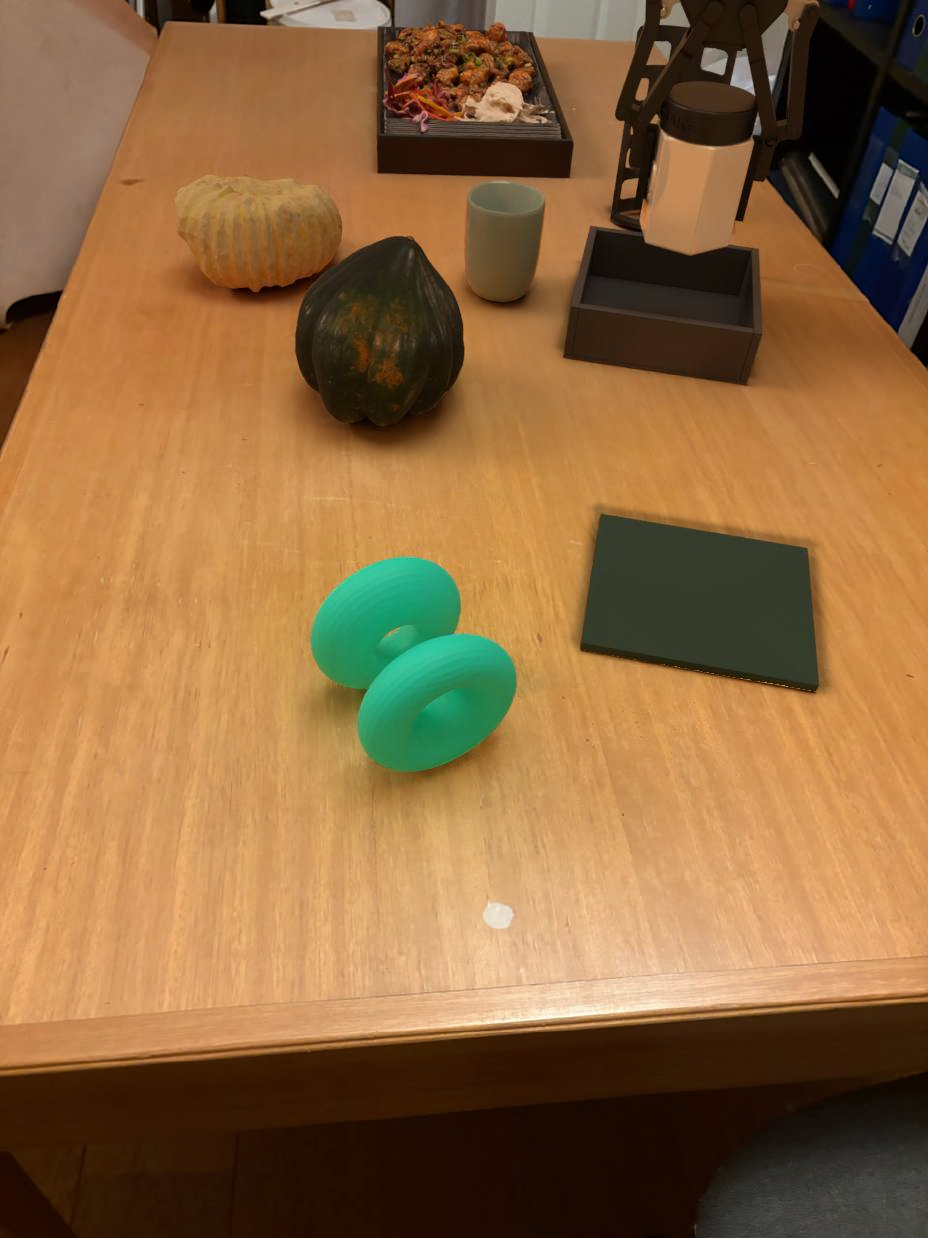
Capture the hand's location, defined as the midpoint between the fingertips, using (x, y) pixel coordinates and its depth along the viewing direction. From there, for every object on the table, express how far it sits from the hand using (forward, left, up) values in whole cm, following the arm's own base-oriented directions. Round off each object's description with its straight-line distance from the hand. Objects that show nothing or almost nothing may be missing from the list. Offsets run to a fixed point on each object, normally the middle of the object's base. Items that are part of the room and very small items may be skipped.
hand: (688, 208), depth 86 cm
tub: (0, 0, -12) cm, 12 cm away
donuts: (+13, +54, -12) cm, 57 cm away
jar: (0, 0, -3) cm, 3 cm away
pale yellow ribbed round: (+42, 0, -12) cm, 44 cm away
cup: (+17, -2, -12) cm, 21 cm away
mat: (-5, +39, -12) cm, 41 cm away
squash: (+24, +20, -12) cm, 34 cm away
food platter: (+31, -53, -12) cm, 63 cm away
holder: (+2, -25, -12) cm, 28 cm away
